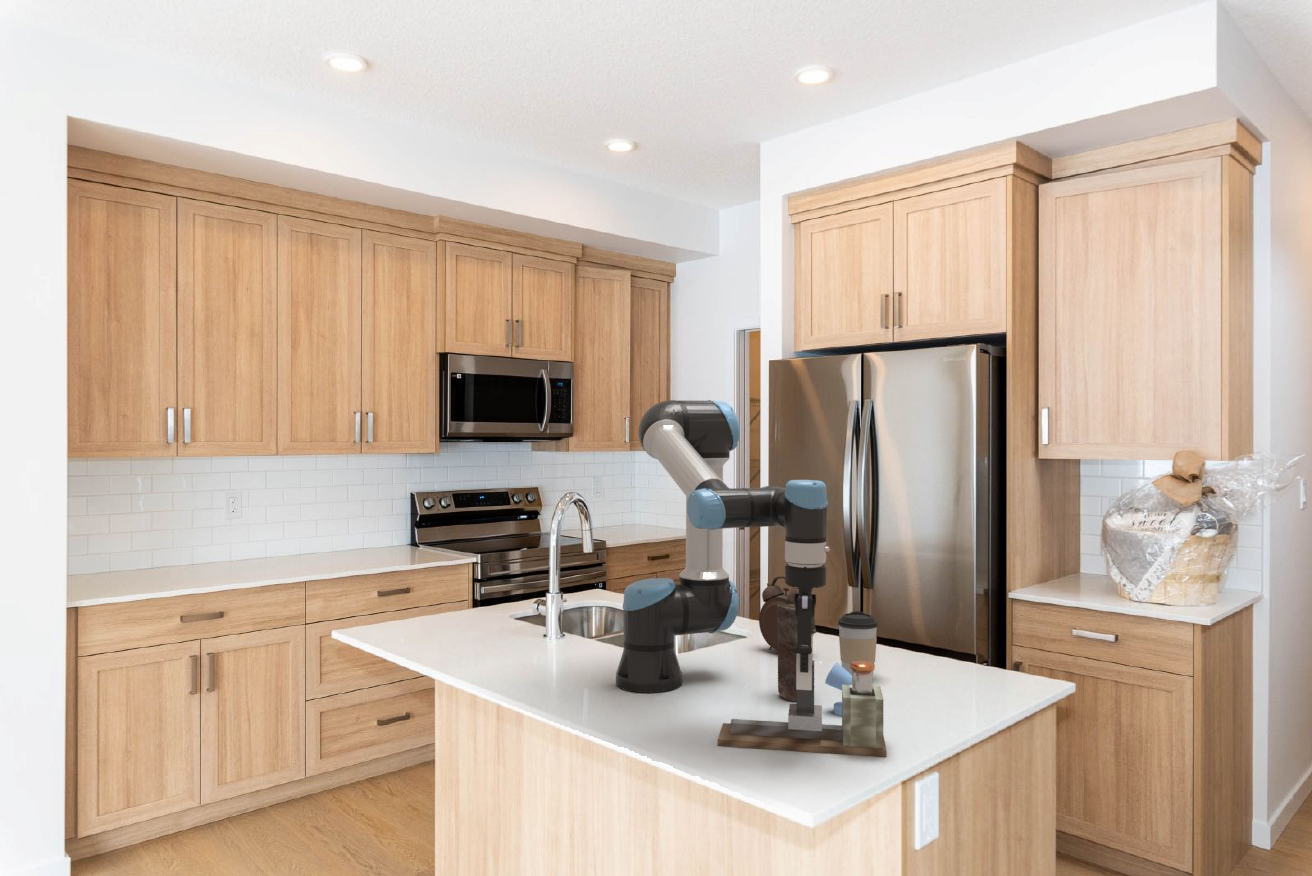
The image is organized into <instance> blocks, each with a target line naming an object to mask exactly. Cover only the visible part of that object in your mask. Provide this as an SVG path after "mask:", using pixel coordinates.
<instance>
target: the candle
mask: <svg viewBox="0 0 1312 876" xmlns="http://www.w3.org/2000/svg"><path fill="white" fill-rule="evenodd" d="M795 609H796V607H795V605H792V604H790V605H782V604H780V605H777V629H778V651H777V692H778V694H779V696H781V697H782V698H784V699H785V701H789V702H796V657H797V654H796V653H793V648H797V629H798V620H797V619H796V617H795Z"/></svg>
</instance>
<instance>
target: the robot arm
mask: <svg viewBox="0 0 1312 876" xmlns="http://www.w3.org/2000/svg"><path fill="white" fill-rule="evenodd" d="M637 431H638V432H637V433H638V440H639V443H640V445H641V447H642V448H643V450H644V451H645V453H646V454H647V455H648V456H649V457H651V458H652V459H655V460H658V461H659V463H660V464H661V465H662V467H663V468H664V469H665V471H666V472H667V474H668V475H669V476H670V477H671V478H672V480H673V481H674V482H675V484H676V485H677V486H678V488H679V489H680V491H681V492H682V493H683V494H684V495H685V496H686V497H685V506H686V507H685V567H684V569H683V570H681V572H680V573H679V577H678V578H679V580H678V582H679V583H675V581H674V579H672V578H669V577H658V578H657V577H651V578H647V579H640V580H638V581H635V582H632V583H630V584H629V585H628V586H626V588H625V589H624V592H623V603H622V609H623V650H622V652H621V657H620V661H619V662H618V667H617V670H616V672H615V673H616V674H615V685H616V686H617V687H619V688H620V689H622V690H626V691H628V692H635V693H662V692H668V691H672V690H675V689H677V688H680V687H681V686H682V685H683V672H682V669H681V667H680V663H679V659H678V657H677V653H676V649H675V637H676V636H683V635H694V634H705V633H709V634H713V633H716V632H721V631H726V630H728V629H730V628H731V627H732V625H733V624H734V623H735V621H736V619H737V617H738V612H739V607H740V606H739V605H740V600H739V593H737V592H738V589H737V586H736V584H735V583H734V582H733V581H731V580H730V575H729V573H728V572H727V571H726V570H725V569H724V568H723V547H724V546H723V545H724V544H723V537H724V536H723V533H724V529H735V528H736V529H737V528H761V527H762V528H765V527H780V528H785V531H784V533H785V534H784V535H785V540H784V561H785V562H786V563H787V564H786V565H785V566H784V576H785V579H784V583H785V584H786V585H787V586H788V587H793V588H799V594H795V596H794V605H795V607H796V609H795V617H796V619H797V620H798V629H797V648H793V653H796V654H797V657H796V689H797V690H812V660H813V659H814V658H813V655H814V653H813V652H814V651H813V650H814V648H813V644H814V639H813V638H814V635H813V634H811V633H814V634H817V627H815V628H812V626H813V623H812V620H815V614H816V613H815V611H816V610H815V609H816V607H817V594H816V593H814V594H813V589H818V588H823V587H825V586H826V584H827V567H826V565H824V564H825V563H826V562H827V552H830V551H831V550H830V549H831V548H830V546H826V545H827V533H828V532H827V526H828V525H827V524H828V504H829V503H828V502H829V501H828V499H827V485H826V484H825V482H824V481H821V480H812V479H791V480H787V482H786V484H785V487H781V486H780V485H767V486H766V485H764V486H762V487H747V488H745V487H741V488H729V486H727V484H726V483H725V482H724V465H725V464H726V463H727V462H728V461H729V460H730V452H732V451H734V450H735V449H736V448H737V447H738V445H739V441H740V435H741V433H740V424H739V419H738V416H737V414H736V412H735V411H734V408H733V407H732V406H731V405H730V404H729V403H727V402H724V401H720V400H710V399H708V400H675V399H672V400H671V399H668V400H662V401H660V402H657V403H655V404H653V405H652V406H651V407H650V408H648V409H646V411H645V412H644V414H643V416H641V418H640V421H639V425H638V430H637Z"/></svg>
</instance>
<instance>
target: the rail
mask: <svg viewBox="0 0 1312 876" xmlns="http://www.w3.org/2000/svg"><path fill="white" fill-rule="evenodd" d="M883 696H884V695H883V690H882V688H881V686H878V685H872V696H866V695H852V685H842V690H841V702H842V716H841V725H840V724H838V725H837V724H826V723H825V724H823V723H822V731H810V730H794V729H788V722H787V721H773V720H772V721H771V720H757V719H756V720H755V719H754V720H753V719H741V718H740V719H739V718H731V719H730V722H729V723H727V722H723V723H722V724H721V729H720V731H719V734H718V737H717V746H718V747H720V746H721V747H732V748H744V749H745V748H746V749H748V748H749V749H765V750H777V751H778V750H779V751H792V752H793V751H794V752H795V751H796V752H807V753H808V752H809V753H822V754H838V755H850V756H851V755H854V756H855V755H856V756H867V757H868V756H871V757H883V758H887V755H888V754H887V745H886V741H885V740H886V739H885V737H884V697H883Z"/></svg>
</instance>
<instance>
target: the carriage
mask: <svg viewBox="0 0 1312 876" xmlns="http://www.w3.org/2000/svg"><path fill="white" fill-rule="evenodd" d="M795 702H796V703H789V705H788V706H789V707H788V713H787V715H788V716H787V717H788V718H787V719H788V720H787V721H788V729H794V730H810V731H822V724H823V705H821V704H820V705H819V704H815V660H812V690H797V689H796V701H795Z"/></svg>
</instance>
